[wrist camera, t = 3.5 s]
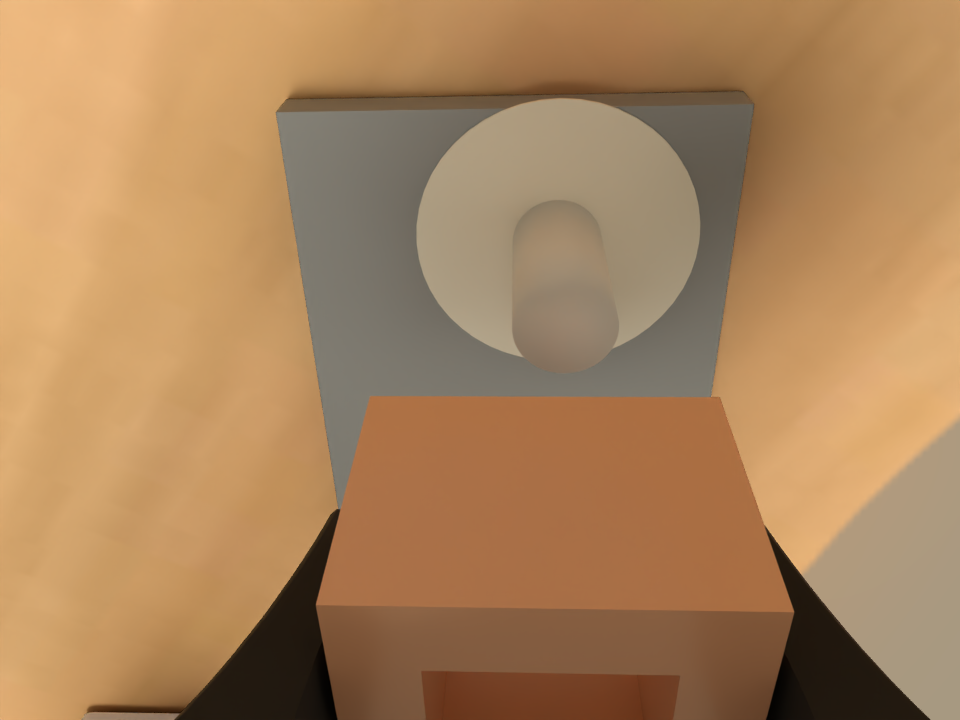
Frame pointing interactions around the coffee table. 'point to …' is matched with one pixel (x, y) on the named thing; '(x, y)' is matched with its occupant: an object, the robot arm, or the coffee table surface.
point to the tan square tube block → (551, 564)
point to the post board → (512, 245)
